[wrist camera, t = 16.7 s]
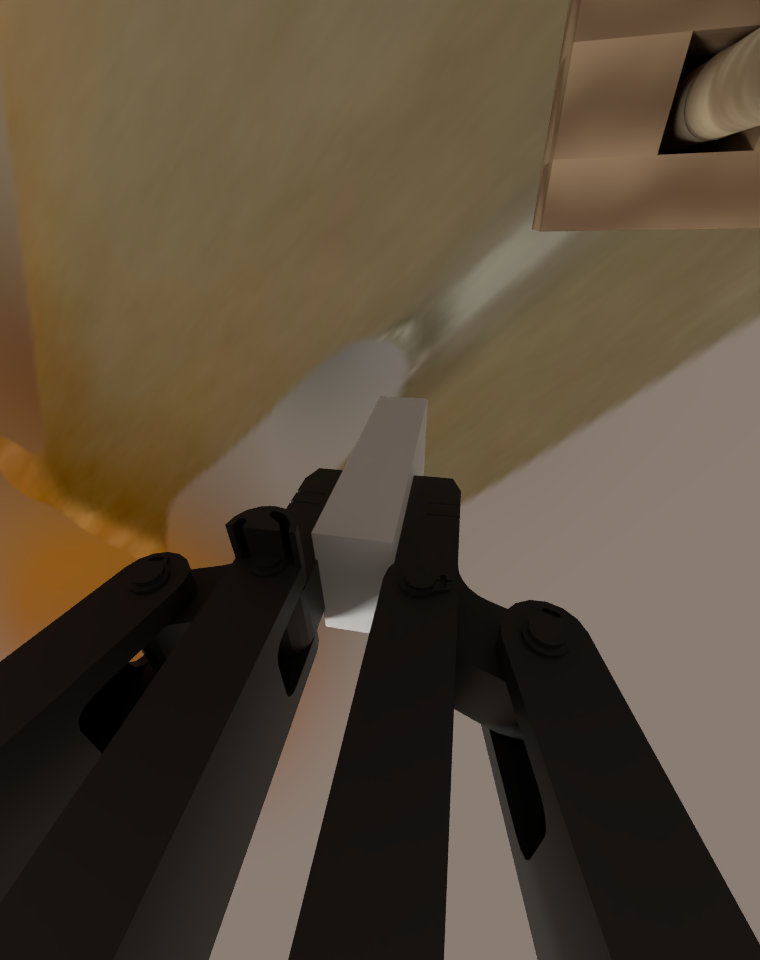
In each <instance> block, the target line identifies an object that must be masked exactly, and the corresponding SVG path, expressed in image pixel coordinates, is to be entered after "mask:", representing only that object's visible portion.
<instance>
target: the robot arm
mask: <svg viewBox="0 0 760 960" xmlns="http://www.w3.org/2000/svg"><path fill="white" fill-rule="evenodd" d="M427 400H428V399H422V398H404V397H385V396H384V397H383V396H380V398H379V400H378V402H377V404H376V406H375V408H374V410H373V412H372V414H371V416H370V418H369V420H368V422H367V424H366V426H365V428H364V430H363V432H362V434H361V436H360V438H359V439H358V441H357V443H356V445H355V447H354V449H353V451H352V453H351V455H350V457H349V459H348V461H347V463H346V465H345V467H344V469H343V470H333V469H322V468H319V469H318V470H317V471H315V472H314V473H312V474H311V475H309V476H308V477H306V478H305V480H304V481H303V483H302V485H301V486H300V488H299V489H298V493H296V494H295V496H294V497H293V499H292V500H291V503H290V504H289V505H288V507H287V508H286V509H284V508H280V507H276V506H261V507H257V508H253V509H249V510H246V511H244V512H242V513H240V514H238V515H237V516H235V517H234V518H232V519H231V520H230V521H229V522H228V523H227V524H226V528H227V532H228V535H229V538H230V541H231V544H232V548H233V550H234V554H235V557H236V558H235V560H234V561H233V563H232V564H227V565H222V566H215V567H207V568H199V569H191V568H190V566H189V563H188V561H187V559H186V558H184V557H183V556H181V555H180V554H176V553H171V552H164V553H156V554H152V555H149V556H146V557H143V558H140V559H138V560H137V561H135V562H133V563H132V564H130V565H128V566H127V567H125V568H124V569H123V570H121V571H120V572H118V573H117V574H116V575H115V576H113V577H112V578H111V579H109V580H108V581H107V582H105V583H104V584H103V585H101V586H100V587H99V588H97V589H96V590H95V591H93V592H92V593H91V594H89V595H88V596H87V597H85V598H84V599H83V600H81V601H80V602H79V603H77V604H76V605H75V606H73V607H72V608H71V609H70V610H68V611H67V612H66V613H64V614H63V615H62V616H60V617H59V618H58V619H56V620H55V621H54V622H52V623H51V624H50V625H48V626H47V627H46V628H44V629H43V630H42V631H40V632H39V633H38V634H36V635H35V636H34V637H32V638H31V639H30V640H28V641H27V642H26V643H24V644H23V645H22V646H20V647H19V648H18V649H17V650H15V651H14V652H13V653H12V654H10V655H9V656H7V657H6V658H5V659H3V660H2V661H1V662H0V960H209V957H210V954H211V951H212V948H213V946H214V943H215V940H216V937H217V934H218V931H219V928H220V926H221V923H222V920H223V917H224V914H225V912H226V909H227V906H228V903H229V900H230V897H231V894H232V892H233V889H234V886H235V883H236V880H237V877H238V875H239V872H240V869H241V866H242V863H243V860H244V857H245V855H246V852H247V849H248V846H249V843H250V840H251V838H252V835H253V832H254V829H255V826H256V823H257V820H258V817H259V815H260V812H261V809H262V806H263V803H264V801H265V798H266V795H267V792H268V789H269V786H270V784H271V781H272V778H273V775H274V772H275V769H276V767H277V764H278V761H279V758H280V755H281V752H282V749H283V746H284V743H285V741H286V738H287V735H288V732H289V730H290V727H291V724H292V721H293V718H294V715H295V712H296V710H297V707H298V704H299V701H300V698H301V695H302V692H303V690H304V687H305V684H306V681H307V678H308V675H309V672H310V670H311V667H312V664H313V661H314V658H315V656H316V653H317V649H318V642H319V639H318V634H317V628H318V625H319V623H320V620H321V617H322V615H323V612H324V617H325V623H326V626H327V627H334V628H340V629H347V630H352V631H359V632H365V633H369V637H368V641H367V645H366V650H365V653H364V657H363V661H362V665H361V669H360V674H359V678H358V682H357V685H356V689H355V694H354V697H353V702H352V705H351V709H350V713H349V717H348V722H347V726H346V730H345V734H344V738H343V742H342V746H341V750H340V754H339V758H338V762H337V766H336V770H335V774H334V778H333V782H332V786H331V790H330V794H329V798H328V802H327V806H326V810H325V814H324V818H323V822H322V826H321V830H320V834H319V838H318V842H317V847H316V850H315V854H314V858H313V862H312V866H311V870H310V874H309V879H308V883H307V886H306V890H305V894H304V899H303V903H302V907H301V911H300V915H299V919H298V923H297V927H296V931H295V935H294V939H293V943H292V947H291V951H290V955H289V959H288V960H444V941H445V916H446V890H447V867H448V866H447V865H448V841H449V817H450V792H451V767H452V766H451V764H452V742H453V716H454V709H455V710H457V711H459V712H461V713H462V714H464V715H466V716H468V717H470V718H471V719H473V720H475V721H477V722H479V723H480V724H481V726H482V730H483V734H484V739H485V742H486V747H487V751H488V755H489V759H490V763H491V767H492V772H493V776H494V780H495V784H496V788H497V793H498V797H499V801H500V805H501V809H502V813H503V817H504V822H505V826H506V830H507V834H508V838H509V842H510V847H511V851H512V855H513V859H514V863H515V867H516V871H517V875H518V880H519V884H520V888H521V892H522V896H523V901H524V905H525V909H526V913H527V917H528V921H529V925H530V930H531V934H532V938H533V942H534V946H535V950H536V955H537V959H538V960H760V944H759V942H758V941H757V939H756V937H755V935H754V933H753V931H752V930H751V928H750V926H749V924H748V922H747V921H746V919H745V917H744V915H743V913H742V912H741V910H740V908H739V906H738V904H737V902H736V900H735V899H734V897H733V895H732V893H731V891H730V890H729V888H728V886H727V884H726V882H725V880H724V879H723V877H722V875H721V873H720V871H719V870H718V868H717V866H716V864H715V862H714V861H713V859H712V857H711V855H710V853H709V851H708V850H707V848H706V846H705V845H704V843H703V841H702V839H701V837H700V835H699V833H698V832H697V830H696V828H695V826H694V824H693V822H692V821H691V819H690V817H689V815H688V813H687V812H686V810H685V808H684V806H683V804H682V802H681V801H680V799H679V797H678V795H677V793H676V792H675V790H674V788H673V786H672V784H671V783H670V781H669V779H668V777H667V775H666V773H665V771H664V770H663V768H662V766H661V764H660V762H659V761H658V759H657V757H656V755H655V753H654V751H653V750H652V748H651V746H650V744H649V743H648V741H647V739H646V737H645V735H644V733H643V732H642V730H641V728H640V726H639V724H638V722H637V721H636V719H635V717H634V715H633V713H632V712H631V710H630V708H629V706H628V704H627V703H626V701H625V699H624V697H623V695H622V694H621V692H620V690H619V688H618V686H617V684H616V683H615V681H614V679H613V677H612V675H611V674H610V672H609V670H608V668H607V666H606V664H605V662H604V661H603V659H602V657H601V655H600V654H599V652H598V650H597V648H596V646H595V644H594V643H593V641H592V639H591V637H590V635H589V633H588V632H587V631H586V630H585V628H584V627H583V626H582V624H581V623H580V622H579V621H578V619H576V618H575V617H574V616H572V615H571V614H570V613H568V612H567V611H566V610H564V609H563V608H560V607H558V606H555V605H553V604H550V603H548V602H543V601H534V600H528V601H523V602H519V603H515V604H514V605H513V606H511V607H510V608H509V609H506V608H504V607H501V606H499V605H497V604H494V603H492V602H489V601H487V600H486V599H484V598H482V597H480V596H478V595H477V594H476V593H474V592H473V591H472V590H471V589H469V588H468V587H467V585H466V584H465V583H464V581H463V580H462V578H461V576H460V574H459V570H458V547H459V523H460V521H459V519H460V499H461V491H460V489H459V488H458V486H457V484H456V483H455V481H454V480H453V479H450V478H439V477H427V476H423V475H424V460H425V440H426V420H427ZM141 650H142V652H143V653H144V656H142V657H141V658H140V659H138V660H137V661H134V662H129V661H130V660H131V659H132V658H133V657H134V656H135V655H136V654H137V653H138V652H139V651H141Z"/></svg>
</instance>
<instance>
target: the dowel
mask: <svg viewBox="0 0 760 960" xmlns="http://www.w3.org/2000/svg"><path fill="white" fill-rule="evenodd" d="M756 126H760V28H758V29H757V30H755V31H754V32H752V33H751V34H749V35H748V36H746V37H744V38H743V39H741V40H740V41H738V42H737V43H735V44H733V45H731V46H729V47H727V48H725V49H724V50H722V51H721V52H719V53H718V54H716V55H715V56H714V57H713V58H712V59H710V60H709V61H707V62H706V63H704V64H702V65H701V66H699V67H698V68H696V69H695V70H693V71H692V72H690V73H688V74H687V75H685V76H684V77H682V78H681V79H679V81H678V85H677V88H676V91H675V95H674V98H673V102H672V105H671V109H670V112H669V116H668V119H667V123H666V126H665V129H664V133H663V136H662V140H661V143H660V145H661V146H662V147H664V148H666V149H669V150H680V149H684V148H687V147H690V146H694V145H697V144H700V143H704V142H707V141H710V140H717V139H720V138H724V137H726V136H729V135H731V134H733V133H737V132H740V131H743V130H746V129H750V128H753V127H756Z"/></svg>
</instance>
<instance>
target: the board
mask: <svg viewBox="0 0 760 960" xmlns="http://www.w3.org/2000/svg"><path fill="white" fill-rule="evenodd" d="M758 28H760V0H570V2H569V8H568V14H567V20H566V26H565V32H564V38H563V44H562V50H561V56H560V62H559V68H558V75H557V81H556V87H555V93H554V99H553V105H552V111H551V117H550V123H549V129H548V135H547V141H546V147H545V153H544V159H543V165H542V171H541V177H540V184H539V190H538V196H537V202H536V208H535V214H534V220H533V226H532V229H533V230H537V231H601V230H661V229H720V228H760V126H756V127H753V128H750V129H746V130H743V131H740V132H737V133H733V134H731V135H729V136H726V137H724V138H720V140H719V143H718V146H717V149H716V152H710V153H688V154H667V155H657V154H658V150H659V147H660V143H661V140H662V136H663V133H664V129H665V126H666V123H667V119H668V116H669V112H670V109H671V105H672V102H673V98H674V95H675V91H676V88H677V85H678V81H679V78H680V74H681V71H682V67H683V64H684V60H685V57H697V56H709V55H716V54H718V53H719V52H721V51H722V50H724V49H725V48H727V47H729V46H731V45H733V44H735V43H737V42H738V41H740V40H741V39H743V38H744V37H746V36H748V35H749V34H751V33H752V32H754V31H755V30H757V29H758Z"/></svg>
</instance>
